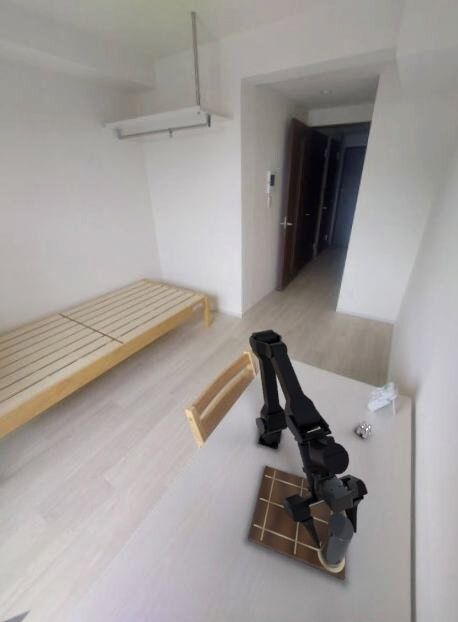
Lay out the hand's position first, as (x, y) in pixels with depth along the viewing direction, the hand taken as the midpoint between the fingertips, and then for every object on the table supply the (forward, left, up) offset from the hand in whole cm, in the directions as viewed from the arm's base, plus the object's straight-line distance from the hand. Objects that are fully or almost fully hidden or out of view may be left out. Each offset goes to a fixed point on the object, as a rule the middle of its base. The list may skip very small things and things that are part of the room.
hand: (337, 539), depth 59 cm
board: (-8, +7, -9) cm, 14 cm away
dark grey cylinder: (0, 0, -8) cm, 8 cm away
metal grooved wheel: (+10, +39, -9) cm, 41 cm away
